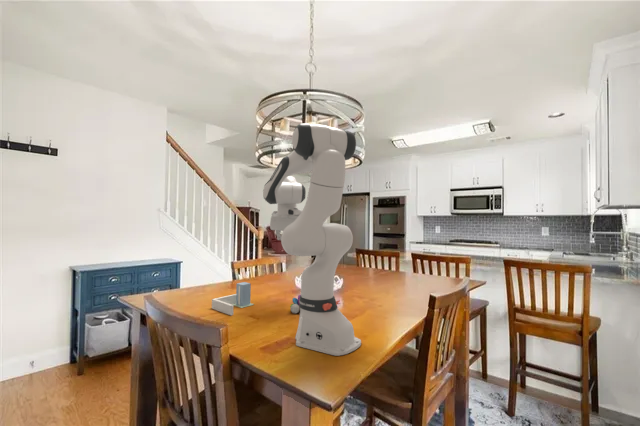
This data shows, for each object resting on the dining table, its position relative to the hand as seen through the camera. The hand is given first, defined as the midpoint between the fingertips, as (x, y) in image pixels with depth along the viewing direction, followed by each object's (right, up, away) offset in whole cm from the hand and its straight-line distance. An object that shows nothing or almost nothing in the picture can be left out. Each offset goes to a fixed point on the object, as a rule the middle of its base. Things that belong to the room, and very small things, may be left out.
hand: (286, 240), depth 150 cm
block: (-19, -29, -5) cm, 35 cm away
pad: (-19, -29, -4) cm, 35 cm away
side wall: (-25, -29, -15) cm, 41 cm away
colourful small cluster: (+8, -30, -13) cm, 33 cm away
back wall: (-26, -29, -5) cm, 39 cm away
